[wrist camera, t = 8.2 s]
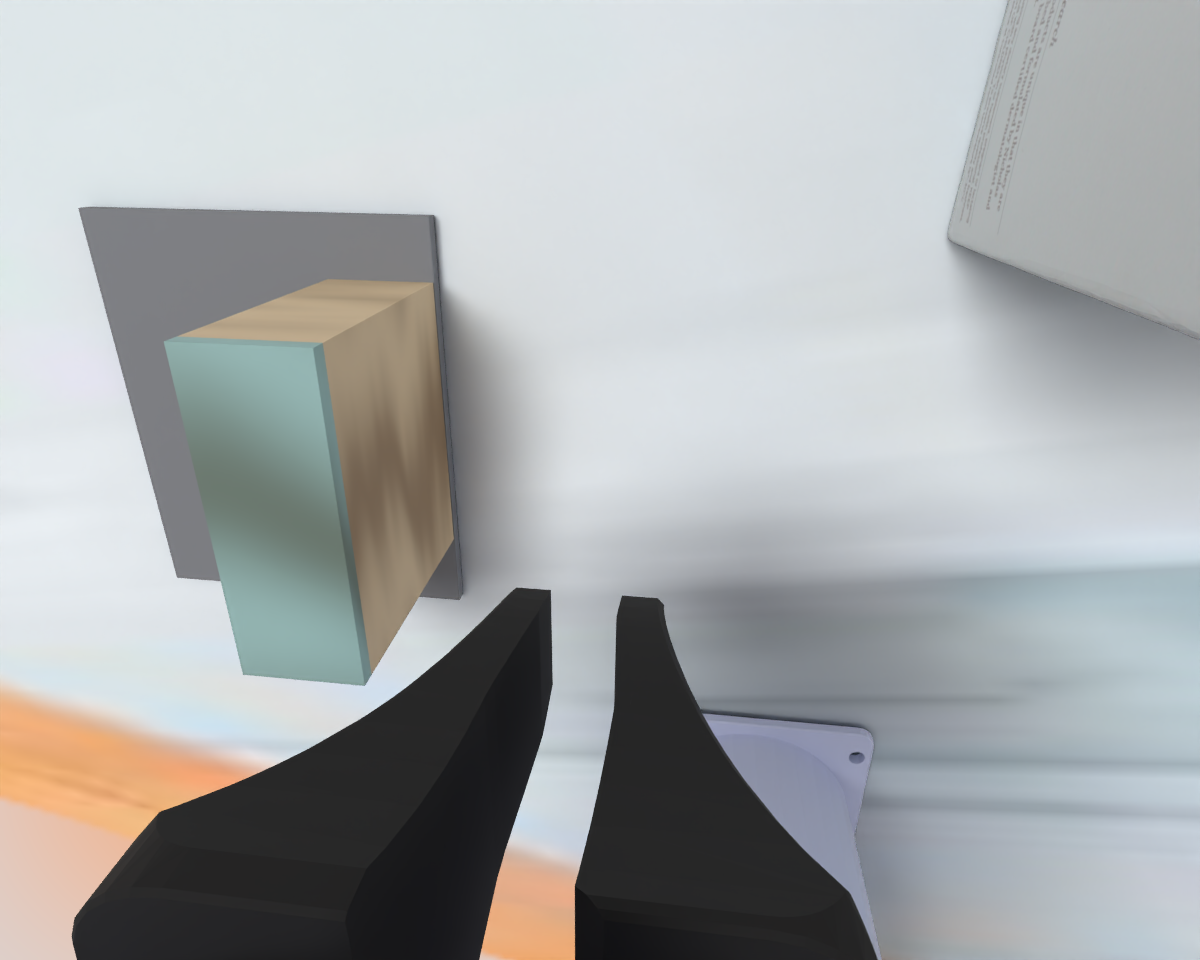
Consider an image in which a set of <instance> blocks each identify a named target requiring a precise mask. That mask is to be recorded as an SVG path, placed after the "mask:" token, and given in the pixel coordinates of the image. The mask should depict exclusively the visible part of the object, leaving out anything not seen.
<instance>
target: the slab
mask: <svg viewBox="0 0 1200 960" xmlns="http://www.w3.org/2000/svg"><path fill="white" fill-rule="evenodd" d="M164 345H165V349H166V353H167V357H168V362H169V366H170V370H171V374H172V378H173V383H174V387H175V391H176V395H177V399H178V403H179V408H180V412H181V416H182V420H183V424H184V429H185V433H186V437H187V441H188V445H189V450H190V454H191V458H192V462H193V466H194V471H195V475H196V479H197V483H198V487H199V492H200V496H201V500H202V504H203V508H204V512H205V517H206V521H207V525H208V529H209V533H210V538H211V542H212V546H213V550H214V554H215V559H216V563H217V567H218V571H219V575H220V580H221V584H222V588H223V592H224V596H225V600H226V605H227V609H228V613H229V617H230V621H231V626H232V630H233V634H234V638H235V642H236V647H237V651H238V655H239V659H240V663H241V668H242V672H243V675H254V676H264V677H275V678H286V679H297V680H308V681H319V682H329V683H340V684H351V685H362V686H365V685H366V683H367V681H368V680H369V678H370V676H371V675H372V673H373V671H374V670H375V668H376V667H377V665H378V663H379V662H380V660H381V658H382V657H383V655H384V653H385V652H386V650H387V648H388V647H389V645H390V643H391V642H392V640H393V639H394V637H395V635H396V634H397V632H398V630H399V629H400V627H401V625H402V624H403V622H404V620H405V619H406V617H407V615H408V614H409V612H410V611H411V609H412V607H413V606H414V604H415V602H416V601H417V599H418V597H419V596H420V594H421V592H422V591H423V589H424V587H425V586H426V584H427V583H428V581H429V579H430V578H431V576H432V574H433V573H434V571H435V569H436V568H437V566H438V564H439V563H440V561H441V560H442V558H443V556H444V555H445V553H446V551H447V550H448V548H449V546H450V545H451V543H452V541H453V540H454V535H453V523H452V510H451V498H450V486H449V473H448V461H447V449H446V436H445V424H444V412H443V399H442V387H441V375H440V363H439V350H438V338H437V326H436V313H435V301H434V289H433V283H428V282H398V281H369V280H339V279H327V280H324V281H322V282H319V283H316V284H314V285H311V286H308V287H306V288H303V289H301V290H298V291H295V292H293V293H290V294H287V295H285V296H282V297H280V298H277V299H274V300H272V301H269V302H266V303H264V304H261V305H259V306H256V307H253V308H251V309H248V310H245V311H243V312H240V313H237V314H235V315H232V316H230V317H227V318H224V319H222V320H219V321H216V322H214V323H211V324H209V325H206V326H203V327H201V328H198V329H195V330H193V331H190V332H187V333H185V334H182V335H180V336H177V337H174V338H172V339H169V340H166V341H164Z"/></svg>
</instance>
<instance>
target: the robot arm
mask: <svg viewBox="0 0 1200 960" xmlns="http://www.w3.org/2000/svg"><path fill="white" fill-rule="evenodd" d="M552 685H553V682H552V630H551V590H540V589H527V588H515V589H514V590H513V591H512V592H511V593H510V594H509V595H508V596H507V597H506V598H505V599H504V600H503V601H502V602H501V603H500V604H499V605H498V606H497V607H496V608H495V609H494V610H493V611H492V612H491V613H490V614H489V615H488V616H487V617H486V618H485V619H484V620H483V621H482V622H481V623H480V624H479V625H478V626H476V627H475V628H474V629H473V630H472V631H471V632H470V633H469V634H468V635H467V636H466V637H465V638H464V639H463V640H462V641H461V642H459V643H458V644H457V645H456V646H455V647H454V648H453V649H452V650H451V651H450V652H449V653H447V654H446V655H445V656H444V657H443V658H442V659H441V660H439V661H438V662H437V663H436V664H435V665H433V666H432V667H431V668H430V669H429V670H427V671H426V672H425V673H424V674H422V675H421V676H420V677H419V678H418V679H416V680H415V681H414V682H413V683H412V684H410V685H409V686H408V687H406V688H405V689H404V690H402V691H401V692H400V693H398V694H397V695H396V696H394V697H393V698H391V699H390V700H389V701H387V702H386V703H384V704H383V705H381V706H380V707H378V708H377V709H375V710H374V711H372V712H371V713H369V714H368V715H366V716H365V717H363V718H361V719H360V720H358V721H356V722H355V723H353V724H351V725H349V726H348V727H346V728H344V729H342V730H341V731H339V732H337V733H336V734H334V735H332V736H330V737H329V738H327V739H325V740H323V741H322V742H320V743H318V744H316V745H315V746H313V747H311V748H309V749H307V750H305V751H303V752H301V753H299V754H297V755H295V756H293V757H291V758H289V759H287V760H285V761H283V762H281V763H279V764H277V765H275V766H273V767H271V768H268V769H266V770H264V771H262V772H260V773H258V774H255V775H253V776H251V777H249V778H246V779H244V780H242V781H239V782H237V783H235V784H232V785H230V786H227V787H225V788H222V789H220V790H217V791H214V792H212V793H209V794H207V795H204V796H201V797H199V798H196V799H194V800H191V801H188V802H186V803H183V804H181V805H178V806H175V807H173V808H170V809H167V810H164V811H161V812H159V813H158V815H157V816H156V817H155V818H154V819H153V820H152V821H151V822H150V824H149V825H148V826H147V827H146V828H145V829H144V830H143V832H142V833H141V834H140V835H139V836H138V837H137V839H136V840H135V841H134V842H133V843H132V845H131V846H130V847H129V848H128V850H127V851H126V852H125V854H124V855H123V856H122V857H121V859H120V860H119V861H118V862H117V864H116V865H115V866H114V868H113V869H112V870H111V872H110V873H109V874H108V875H107V877H106V878H105V879H104V880H103V882H102V883H101V884H100V885H99V887H98V888H97V889H96V890H95V892H94V893H93V894H92V896H91V897H90V898H89V899H88V901H87V902H86V903H85V905H84V906H83V907H82V909H81V910H80V911H79V913H78V914H77V915H76V917H75V920H74V925H73V932H72V941H73V946H74V950H75V953H76V957H77V960H479V958H480V953H481V949H482V944H483V939H484V935H485V930H486V926H487V921H488V917H489V912H490V908H491V903H492V899H493V894H494V890H495V886H496V881H497V877H498V874H499V870H500V867H501V863H502V859H503V856H504V852H505V849H506V846H507V843H508V840H509V837H510V834H511V831H512V828H513V825H514V822H515V819H516V816H517V813H518V810H519V807H520V804H521V801H522V798H523V795H524V792H525V789H526V786H527V782H528V779H529V776H530V773H531V770H532V767H533V764H534V761H535V758H536V755H537V752H538V749H539V745H540V742H541V739H542V736H543V731H544V726H545V721H546V716H547V711H548V706H549V700H550V695H551V690H552ZM873 750H874V741H873V738H872V735H871V734H870V732H868V731H867V730H865V729H862V728H856V727H845V726H834V725H823V724H812V723H801V722H790V721H780V720H769V719H758V718H747V717H736V716H725V715H714V714H703V713H702V712H701V710H700V708H699V706H698V704H697V702H696V700H695V698H694V696H693V694H692V692H691V690H690V688H689V686H688V684H687V681H686V679H685V677H684V674H683V672H682V669H681V667H680V665H679V662H678V660H677V657H676V654H675V652H674V649H673V646H672V643H671V640H670V636H669V633H668V630H667V626H666V621H665V615H664V605H663V604H662V602H661V601H660V600H659V599H658V598H645V597H632V596H622V598H621V602H620V605H619V609H618V613H617V622H616V661H615V701H614V712H613V718H612V723H611V729H610V734H609V740H608V745H607V750H606V755H605V760H604V765H603V770H602V775H601V780H600V785H599V790H598V794H597V799H596V803H595V808H594V812H593V817H592V821H591V826H590V830H589V834H588V838H587V842H586V846H585V849H584V853H583V857H582V861H581V865H580V869H579V873H578V877H577V880H576V884H575V960H882V958H881V954H880V949H879V945H878V940H877V936H876V931H875V927H874V923H873V918H872V914H871V909H870V905H869V900H868V896H867V891H866V887H865V883H864V878H863V874H862V869H861V865H860V860H859V856H858V851H857V847H856V843H855V838H854V836H855V831H856V827H857V822H858V818H859V813H860V809H861V804H862V800H863V795H864V790H865V786H866V781H867V777H868V772H869V768H870V763H871V759H872V754H873ZM853 752H860V753H859V754H858V755H851V754H852V753H853Z"/></svg>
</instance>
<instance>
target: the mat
mask: <svg viewBox="0 0 1200 960" xmlns="http://www.w3.org/2000/svg"><path fill="white" fill-rule="evenodd" d="M79 212H80V216H81V220H82V223H83V227H84V231H85V235H86V238H87V242H88V246H89V249H90V253H91V257H92V261H93V264H94V268H95V272H96V276H97V279H98V283H99V287H100V291H101V294H102V298H103V302H104V306H105V309H106V313H107V317H108V321H109V324H110V328H111V332H112V336H113V339H114V343H115V347H116V351H117V354H118V358H119V362H120V365H121V369H122V373H123V377H124V380H125V384H126V388H127V392H128V395H129V399H130V403H131V407H132V410H133V414H134V418H135V422H136V425H137V429H138V433H139V437H140V440H141V444H142V448H143V452H144V455H145V459H146V463H147V467H148V470H149V474H150V478H151V481H152V485H153V489H154V493H155V496H156V500H157V504H158V508H159V511H160V515H161V519H162V523H163V526H164V530H165V534H166V538H167V541H168V545H169V549H170V553H171V556H172V560H173V564H174V568H175V571H176V575H177V578H189V579H201V580H214V581H221V580H220V575H219V571H218V567H217V563H216V559H215V554H214V550H213V546H212V542H211V538H210V533H209V529H208V525H207V521H206V517H205V512H204V508H203V504H202V500H201V496H200V492H199V487H198V483H197V479H196V475H195V471H194V466H193V462H192V458H191V454H190V450H189V445H188V441H187V437H186V433H185V429H184V424H183V420H182V416H181V412H180V408H179V403H178V399H177V395H176V391H175V387H174V383H173V378H172V374H171V370H170V366H169V362H168V357H167V353H166V349H165V345H164V341H166V340H169V339H172V338H174V337H177V336H180V335H182V334H185V333H187V332H190V331H193V330H195V329H198V328H201V327H203V326H206V325H209V324H211V323H214V322H216V321H219V320H222V319H224V318H227V317H230V316H232V315H235V314H237V313H240V312H243V311H245V310H248V309H251V308H253V307H256V306H259V305H261V304H264V303H266V302H269V301H272V300H274V299H277V298H280V297H282V296H285V295H287V294H290V293H293V292H295V291H298V290H301V289H303V288H306V287H308V286H311V285H314V284H316V283H319V282H322V281H324V280H327V279H339V280H369V281H398V282H428V283H433V289H434V301H435V313H436V326H437V338H438V350H439V363H440V375H441V387H442V399H443V412H444V424H445V436H446V449H447V461H448V473H449V486H450V498H451V510H452V523H453V535H454V540H453V541H452V543H451V545H450V546H449V548H448V550H447V551H446V553H445V555H444V556H443V558H442V560H441V561H440V563H439V564H438V566H437V568H436V569H435V571H434V573H433V574H432V576H431V578H430V579H429V581H428V583H427V584H426V586H425V587H424V589H423V591H422V592H421V594H420V596H419V597H430V598H443V599H455V600H460V598H461V596H462V594H463V586H462V573H461V561H460V548H459V535H458V522H457V509H456V497H455V484H454V471H453V458H452V445H451V433H450V420H449V407H448V394H447V382H446V369H445V356H444V343H443V330H442V318H441V305H440V292H439V279H438V266H437V254H436V241H435V228H434V215H407V214H366V213H324V212H283V211H241V210H200V209H158V208H117V207H83V208H79Z"/></svg>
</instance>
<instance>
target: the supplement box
mask: <svg viewBox="0 0 1200 960" xmlns="http://www.w3.org/2000/svg"><path fill="white" fill-rule="evenodd" d="M948 238H949V240H950V241H952V242H954V243H956V244H958V245H960V246H963V247H965V248H968V249H970V250H972V251H975V252H977V253H980V254H982V255H985V256H987V257H989V258H993V259H995V260H997V261H1000V262H1003V263H1006V264H1008V265H1011V266H1013V267H1016V268H1018V269H1021V270H1023V271H1026V272H1028V273H1030V274H1033V275H1035V276H1038V277H1040V278H1043V279H1045V280H1048V281H1050V282H1053V283H1056V284H1058V285H1061V286H1063V287H1066V288H1068V289H1071V290H1074V291H1076V292H1079V293H1082V294H1084V295H1087V296H1090V297H1092V298H1095V299H1097V300H1100V301H1102V302H1105V303H1107V304H1110V305H1112V306H1115V307H1117V308H1120V309H1123V310H1125V311H1128V312H1130V313H1133V314H1135V315H1138V316H1141V317H1143V318H1146V319H1148V320H1151V321H1153V322H1156V323H1158V324H1161V325H1164V326H1166V327H1168V328H1171V329H1173V330H1176V331H1178V332H1181V333H1183V334H1186V335H1188V336H1191V337H1193V338H1196V339H1198V340H1200V0H1008V4H1007V8H1006V13H1005V16H1004V20H1003V23H1002V26H1001V30H1000V33H999V37H998V41H997V45H996V49H995V53H994V57H993V61H992V65H991V69H990V72H989V76H988V80H987V83H986V87H985V90H984V94H983V98H982V102H981V106H980V110H979V114H978V117H977V121H976V125H975V129H974V133H973V137H972V140H971V144H970V147H969V151H968V155H967V159H966V163H965V167H964V172H963V176H962V180H961V183H960V186H959V189H958V193H957V197H956V201H955V206H954V210H953V214H952V218H951V222H950V225H949V230H948Z"/></svg>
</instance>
